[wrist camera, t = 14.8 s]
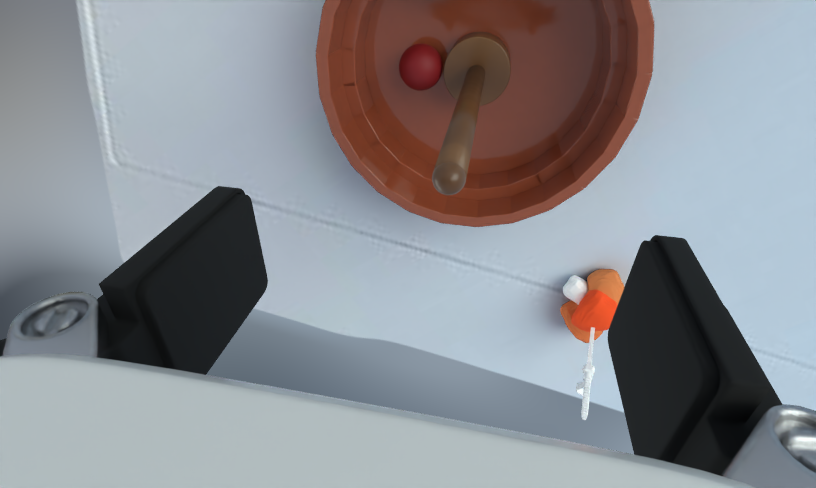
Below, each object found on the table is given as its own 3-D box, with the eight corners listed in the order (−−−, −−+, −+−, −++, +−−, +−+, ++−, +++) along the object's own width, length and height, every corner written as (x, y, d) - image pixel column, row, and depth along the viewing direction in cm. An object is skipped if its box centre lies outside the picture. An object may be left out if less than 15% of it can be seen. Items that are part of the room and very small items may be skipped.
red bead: (428, 38, 31) (391, 41, 30) (453, 45, 29) (413, 48, 28) (426, 82, 33) (391, 87, 32) (449, 92, 31) (412, 97, 30)
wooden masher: (449, 29, 30) (383, 116, 14) (515, 32, 30) (523, 127, 14) (444, 95, 33) (384, 232, 17) (505, 100, 32) (503, 246, 16)
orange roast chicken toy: (533, 326, 44) (541, 436, 34) (578, 252, 38) (602, 356, 28) (592, 345, 44) (617, 461, 34) (645, 273, 38) (693, 385, 28)
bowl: (336, -112, 28) (299, -126, 23) (673, -111, 25) (714, -126, 20) (352, 177, 38) (329, 210, 33) (588, 201, 36) (601, 241, 31)
